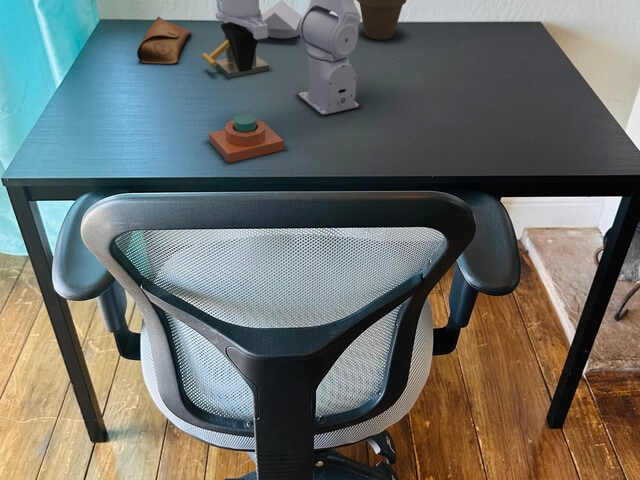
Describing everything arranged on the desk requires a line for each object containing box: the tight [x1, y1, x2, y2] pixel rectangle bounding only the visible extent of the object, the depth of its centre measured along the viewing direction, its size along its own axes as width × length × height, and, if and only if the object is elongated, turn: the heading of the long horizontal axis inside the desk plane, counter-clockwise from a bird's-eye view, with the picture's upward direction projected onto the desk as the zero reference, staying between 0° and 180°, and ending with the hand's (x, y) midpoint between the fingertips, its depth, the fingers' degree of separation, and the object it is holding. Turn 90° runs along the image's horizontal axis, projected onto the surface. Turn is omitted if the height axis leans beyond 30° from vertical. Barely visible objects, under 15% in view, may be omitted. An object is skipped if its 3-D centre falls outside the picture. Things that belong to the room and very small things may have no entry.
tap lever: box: [201, 40, 230, 68], centre depth 131 cm, size 10×5×2 cm, turn 120°
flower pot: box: [356, 0, 407, 41], centre depth 148 cm, size 12×11×10 cm
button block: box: [208, 118, 285, 164], centre depth 110 cm, size 8×10×4 cm
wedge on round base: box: [261, 0, 303, 39], centre depth 148 cm, size 9×7×13 cm
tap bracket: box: [214, 20, 270, 79], centre depth 132 cm, size 9×7×9 cm
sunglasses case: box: [136, 16, 192, 65], centre depth 141 cm, size 18×7×7 cm, turn 0°
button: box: [233, 113, 257, 133], centre depth 108 cm, size 4×4×2 cm
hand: (244, 69), depth 109 cm, fingers closed
